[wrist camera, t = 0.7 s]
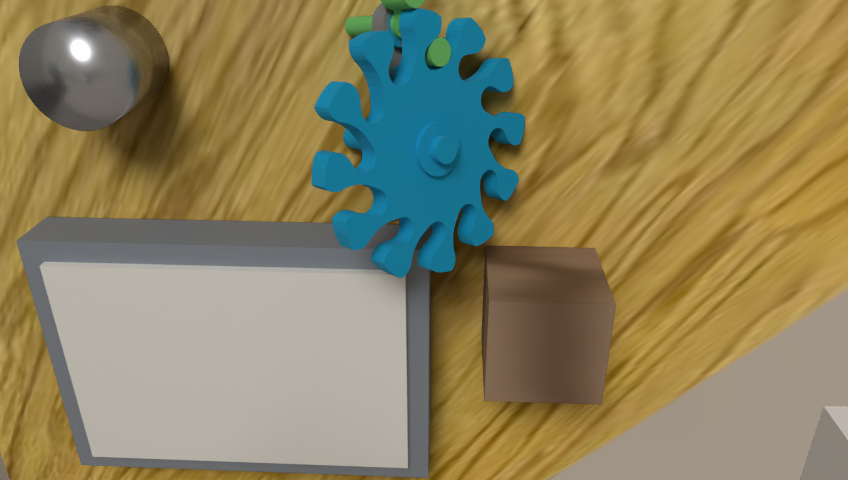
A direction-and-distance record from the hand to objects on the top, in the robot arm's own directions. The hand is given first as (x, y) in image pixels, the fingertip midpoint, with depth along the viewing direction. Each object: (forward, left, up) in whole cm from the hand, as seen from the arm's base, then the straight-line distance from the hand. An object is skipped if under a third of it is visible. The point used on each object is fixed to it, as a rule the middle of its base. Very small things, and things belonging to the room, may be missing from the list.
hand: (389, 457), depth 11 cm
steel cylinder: (-13, +2, -20) cm, 24 cm away
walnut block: (+5, -9, -20) cm, 23 cm away
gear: (0, 0, -21) cm, 21 cm away
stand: (-9, -12, -20) cm, 25 cm away
